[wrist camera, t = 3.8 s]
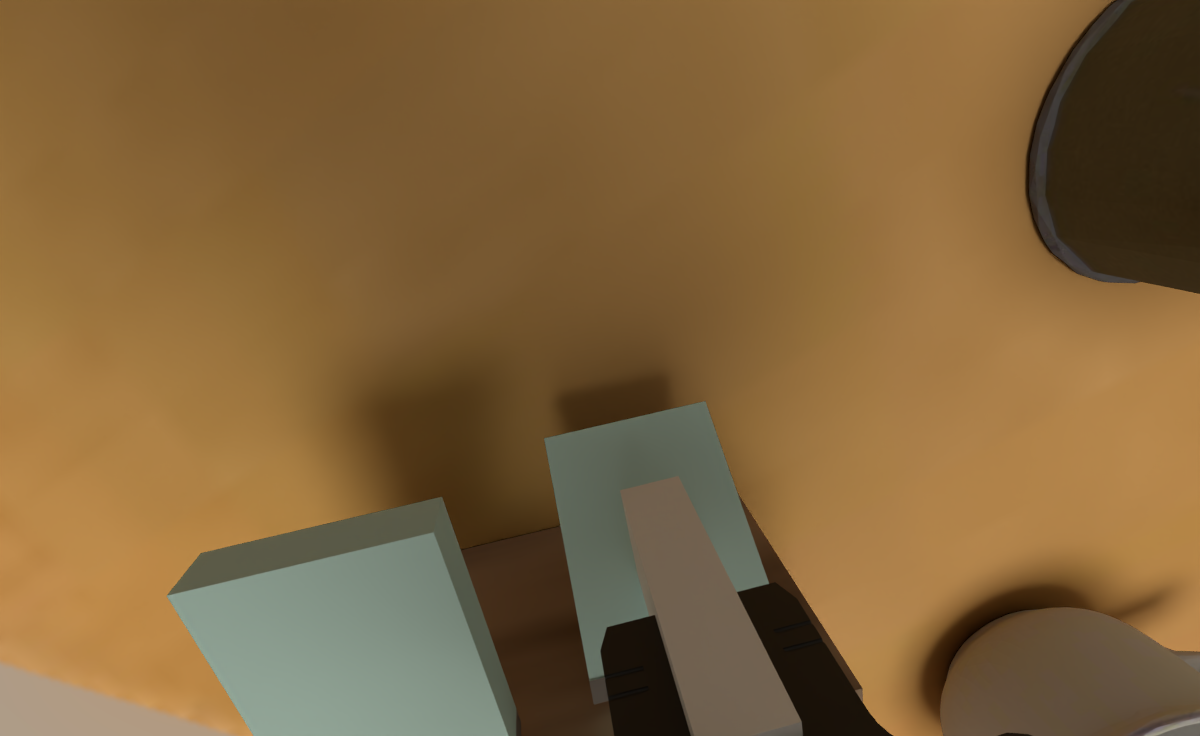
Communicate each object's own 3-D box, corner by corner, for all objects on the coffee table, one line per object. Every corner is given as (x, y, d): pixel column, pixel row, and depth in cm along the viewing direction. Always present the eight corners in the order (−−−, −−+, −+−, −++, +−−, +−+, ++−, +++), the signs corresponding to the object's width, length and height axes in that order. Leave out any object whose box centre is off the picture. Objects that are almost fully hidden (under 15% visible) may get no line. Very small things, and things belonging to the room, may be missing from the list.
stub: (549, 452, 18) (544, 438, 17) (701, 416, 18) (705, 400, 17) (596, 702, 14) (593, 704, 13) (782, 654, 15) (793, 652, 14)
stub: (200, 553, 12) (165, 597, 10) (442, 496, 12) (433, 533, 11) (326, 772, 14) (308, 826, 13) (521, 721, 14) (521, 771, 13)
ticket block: (383, 568, 22) (292, 838, 13) (732, 484, 22) (862, 688, 14) (455, 740, 25) (422, 1038, 17) (753, 664, 26) (866, 911, 18)
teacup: (903, 754, 30) (1028, 950, 23) (905, 601, 26) (1058, 780, 19) (1143, 688, 31) (1341, 857, 23) (1181, 529, 27) (1435, 673, 19)
